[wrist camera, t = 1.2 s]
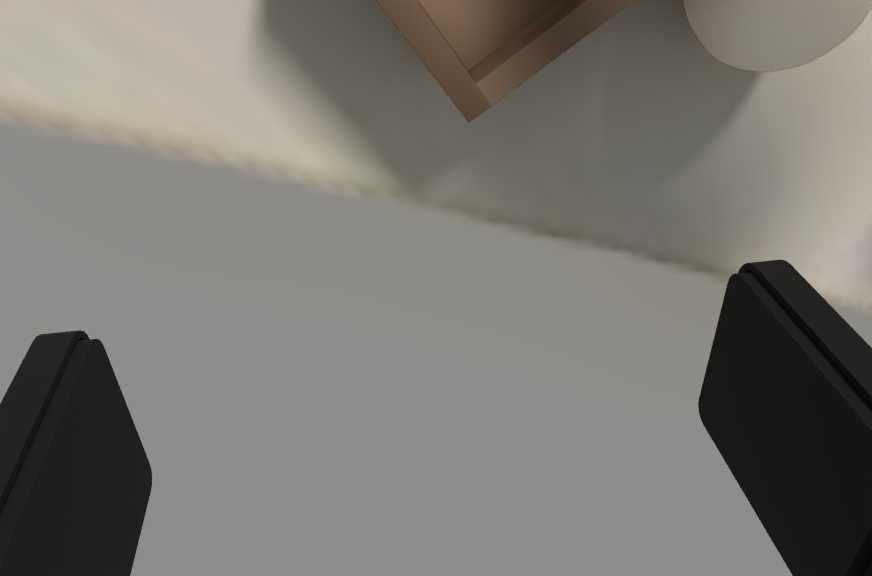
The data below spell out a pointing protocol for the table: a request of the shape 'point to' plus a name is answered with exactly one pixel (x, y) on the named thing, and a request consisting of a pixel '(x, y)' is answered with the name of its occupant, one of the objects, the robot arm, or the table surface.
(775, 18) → the steamed bun
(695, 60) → the table surface
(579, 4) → the walnut block
